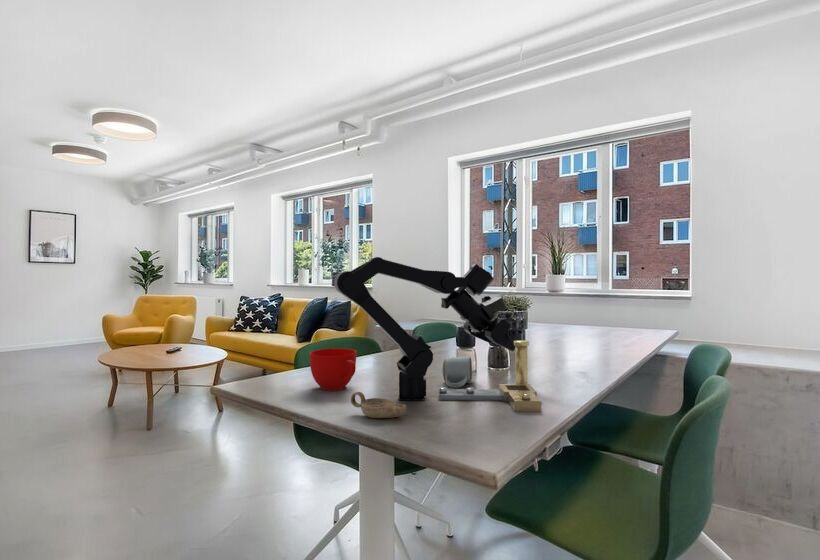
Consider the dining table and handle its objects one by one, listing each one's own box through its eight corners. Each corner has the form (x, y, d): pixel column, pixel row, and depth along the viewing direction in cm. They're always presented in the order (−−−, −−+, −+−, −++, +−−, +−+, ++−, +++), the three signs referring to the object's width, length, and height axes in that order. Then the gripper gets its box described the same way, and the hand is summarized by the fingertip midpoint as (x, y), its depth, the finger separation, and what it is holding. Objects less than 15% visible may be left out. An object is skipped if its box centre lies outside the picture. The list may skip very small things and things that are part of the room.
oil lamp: (411, 415, 97) (411, 392, 97) (397, 425, 90) (396, 401, 90) (360, 408, 103) (360, 387, 102) (343, 417, 96) (343, 395, 96)
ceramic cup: (332, 399, 109) (332, 360, 109) (301, 387, 122) (301, 351, 122) (374, 390, 118) (373, 354, 118) (340, 380, 131) (340, 346, 131)
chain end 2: (510, 411, 99) (510, 396, 99) (498, 392, 115) (498, 380, 115) (545, 411, 99) (545, 396, 99) (529, 393, 115) (529, 380, 115)
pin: (515, 390, 118) (515, 342, 118) (512, 386, 122) (512, 340, 122) (530, 390, 118) (530, 342, 118) (527, 386, 122) (527, 340, 122)
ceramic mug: (445, 378, 132) (445, 353, 132) (472, 379, 130) (472, 354, 130) (440, 388, 122) (440, 360, 121) (469, 389, 120) (469, 361, 120)
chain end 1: (439, 400, 108) (439, 392, 108) (438, 392, 116) (438, 384, 116) (536, 401, 107) (536, 392, 107) (529, 393, 115) (529, 384, 115)
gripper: (503, 287, 108) (543, 329, 111) (473, 285, 126) (507, 322, 129) (474, 319, 106) (515, 362, 109) (447, 313, 124) (483, 350, 127)
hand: (505, 347), depth 118 cm, fingers open, 9 cm apart
